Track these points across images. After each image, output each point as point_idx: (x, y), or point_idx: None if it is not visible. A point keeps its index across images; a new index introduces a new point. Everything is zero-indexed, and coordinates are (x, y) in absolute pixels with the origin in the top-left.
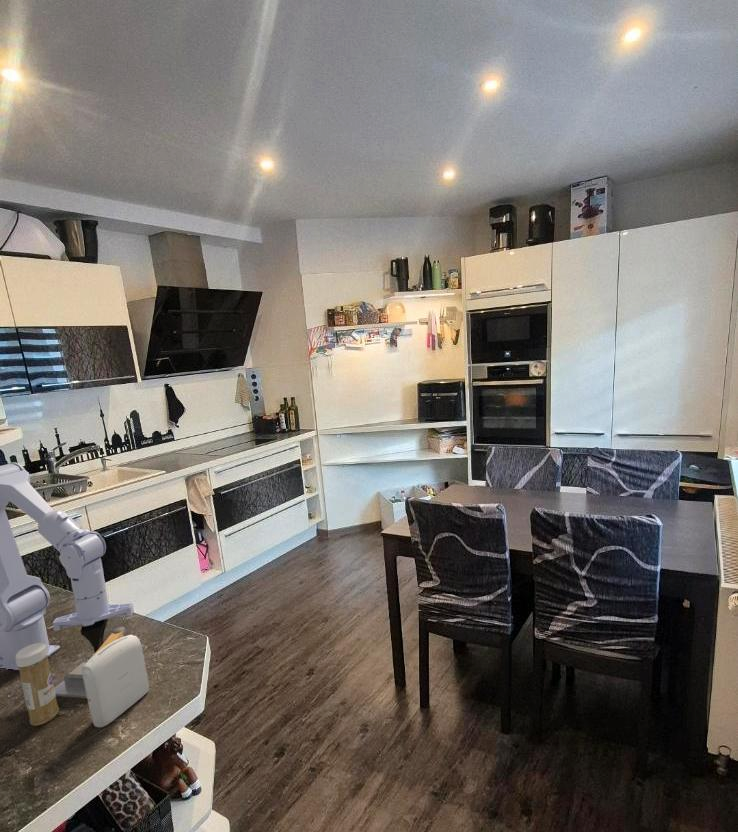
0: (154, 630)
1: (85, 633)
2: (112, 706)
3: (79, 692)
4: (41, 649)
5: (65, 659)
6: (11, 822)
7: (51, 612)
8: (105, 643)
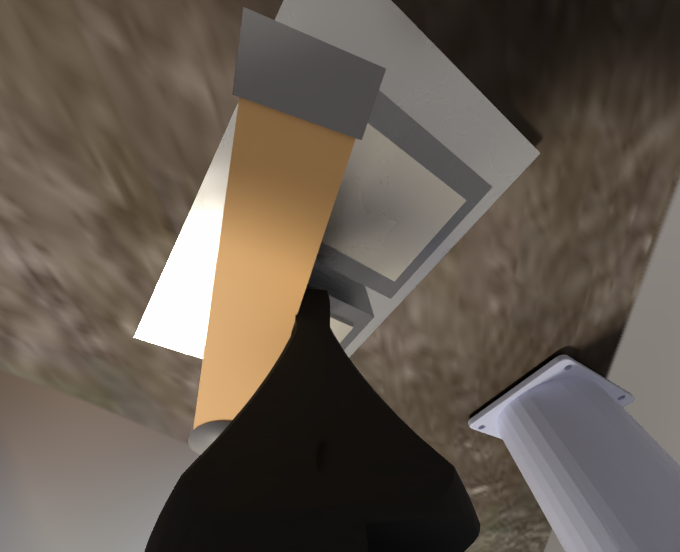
0: (148, 412)
1: (406, 474)
2: None
3: (389, 39)
4: None
5: (453, 367)
6: None
7: None
8: (266, 355)
